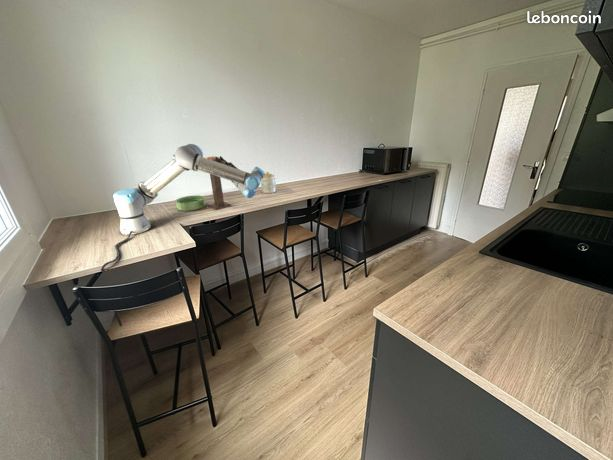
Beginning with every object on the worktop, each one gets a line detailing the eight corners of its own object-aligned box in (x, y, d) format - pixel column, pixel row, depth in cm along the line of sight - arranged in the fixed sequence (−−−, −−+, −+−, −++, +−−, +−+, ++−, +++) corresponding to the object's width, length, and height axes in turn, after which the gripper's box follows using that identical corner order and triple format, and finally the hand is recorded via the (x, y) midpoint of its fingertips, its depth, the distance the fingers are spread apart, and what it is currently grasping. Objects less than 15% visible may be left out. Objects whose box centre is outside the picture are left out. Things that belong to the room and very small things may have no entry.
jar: (273, 189, 234) (272, 170, 227) (278, 192, 223) (277, 172, 216) (259, 190, 229) (258, 171, 222) (263, 194, 218) (262, 173, 211)
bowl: (207, 208, 184) (206, 200, 182) (178, 213, 176) (176, 204, 173) (203, 201, 200) (202, 194, 197) (176, 205, 191) (174, 197, 189)
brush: (228, 164, 170) (227, 158, 168) (220, 165, 165) (219, 159, 164) (214, 162, 180) (213, 156, 178) (207, 163, 176) (206, 157, 174)
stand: (231, 205, 189) (225, 165, 177) (216, 209, 181) (210, 167, 169) (222, 202, 197) (216, 163, 184) (208, 206, 188) (201, 166, 176)
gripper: (226, 186, 160) (206, 164, 167) (246, 182, 170) (227, 161, 178) (228, 176, 155) (208, 154, 162) (248, 173, 166) (228, 152, 173)
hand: (218, 158), depth 170 cm, fingers closed on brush, 2 cm apart
